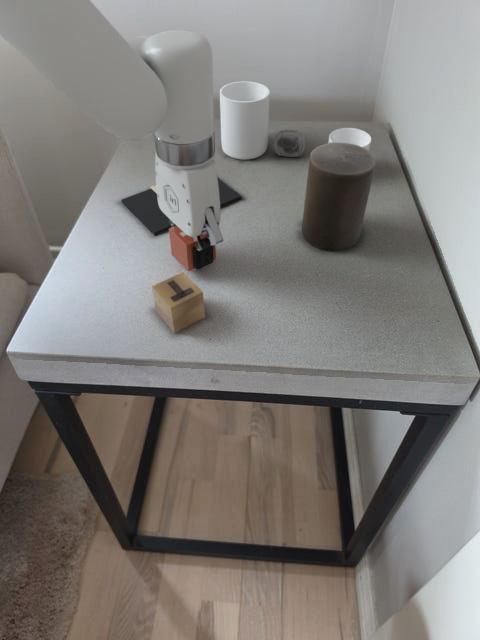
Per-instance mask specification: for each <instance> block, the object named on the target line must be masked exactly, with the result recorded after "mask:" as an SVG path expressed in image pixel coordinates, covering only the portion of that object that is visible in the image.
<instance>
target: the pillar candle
mask: <svg viewBox="0 0 480 640" xmlns="http://www.w3.org/2000/svg"><path fill="white" fill-rule="evenodd" d="M376 164H377V160H376V155H375V154H374V152H372V151H370V150H369V151H368V150H366V149H365V148H363V147H360V146H358V145H354V144H349V143H337V142H336V143H334V142H330V143H328V142H327V143H324V144H321V145H319V146H318V145H317V147H315V148H314V149H312V151H311V152H310V156H309V163H308V169H307V170H308V172H307V179H306V180H307V181H306V187H305V195H304V205H303V213H302V221H301V234H302V238H303V239H304V240H305V241H306V242H307V243H308V244H309V245H311V246H312V247H315V248H317V249H320V250H321V251H327V252H337V251H345V250H348V249H350V248H353V247H354V246H355V245H356V244H357V243H358V242H359V240H360V237H361V234H362V233H361V232H362V228H363V227H362V226H363V223H364V218H365V214H366V210H367V205H368V202H369V196H370V192H371V187H372V182H373V177H374V174H375V167H376Z"/></svg>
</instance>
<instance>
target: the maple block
mask: <svg viewBox="0 0 480 640" xmlns="http://www.w3.org/2000/svg"><path fill="white" fill-rule="evenodd" d="M151 290H152V295H153V300H154V305H155V310H156V313H157V315H159V317H160V318H161V319H162V320H163V322H164V323H165V324H166V325H167V326H168V327H169V329H171V331H172V332H173V333H175V334H176V333H178V332H180V331H182V330H183V329H185V328H187V327H189V326H191V325H194V324H195V323H197V322H199V321H201V320H203V319H205V318H206V312H205V311H206V310H205V299H204V291H203V290H202V289H201V288H200V287H199V286H198V285H197V284H196V283H195V282H194V281H193V280H192V279H191V278H190V277H189V276H188V275H187V274H186V273H185V272H184V271H182V272H180V273H177V274H176V275H173V276H171V277H169V278H167V279H164V280H163V281H161V282H158V283H157V284H154V285H152V286H151Z"/></svg>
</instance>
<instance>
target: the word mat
mask: <svg viewBox="0 0 480 640" xmlns="http://www.w3.org/2000/svg"><path fill="white" fill-rule="evenodd" d="M218 186H219V197H220V209H221V208H223V207H226V206H228V205H230V204H232V203H235V202H237V201H239V200H242V195H241V194H239V193H238V192H236V191H235V190H234V189H233V188H231V187H230V186H229V185H227V183H225V182H223V181H222V180H221V179H220V178H218ZM121 203H122V204H123V205H124V207H126V208H127V210H129V211H130V212H131V214H132V215H134V216H135V217H136V219H138V220H139V221H140V222H141V223H142V224H143V226H145V228H147V229H148V230H149V232H150V233H151V234H153V235H154V236H157V235H160V234H161V233H164V232H166V231H169V228H171V227H172V226H171V224H170V221H169V218H168V217H167V216H166V215H165V214H164V213H163V212H162V211H161V209H160V208H159V205H158V199H157V189H156V184H154V185H152V186H149V189H148V188H147V189H146V190H144V191H141V192H138V193H135V194H133V195H130V196H127V197H125V198H122V199H121Z"/></svg>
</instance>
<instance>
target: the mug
mask: <svg viewBox="0 0 480 640" xmlns="http://www.w3.org/2000/svg"><path fill="white" fill-rule="evenodd" d="M270 93H271V92H270V89H269V88H268V86H267V85H265V84H262V83H259V82H255V81H249V80H247V81H246V80H245V81H244V80H243V81H234V82H230V83H227V84H225V85H223V86H222V87H221V88H220V90H219V110H220V111H219V112H220V113H219V115H220V139H221V140H220V141H221V143H220V144H221V149H222V151H223V153H224V154H226V156H228V157H230V158H231V159H236V160H243V161H247V160H248V161H249V160H253V159H257V158H259V157H261V156H263V155H264V154H265V153H266V151H267V149H268V142H269V121H270V120H269V119H270Z"/></svg>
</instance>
